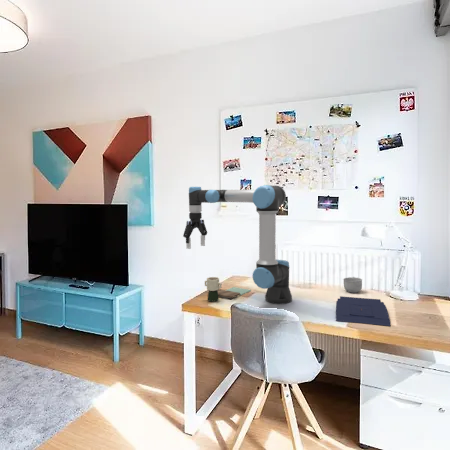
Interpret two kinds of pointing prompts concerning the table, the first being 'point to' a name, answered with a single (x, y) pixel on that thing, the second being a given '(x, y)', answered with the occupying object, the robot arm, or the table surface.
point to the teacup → (352, 284)
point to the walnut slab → (227, 294)
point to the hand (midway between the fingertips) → (195, 247)
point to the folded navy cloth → (362, 311)
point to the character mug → (213, 288)
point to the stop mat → (238, 290)
